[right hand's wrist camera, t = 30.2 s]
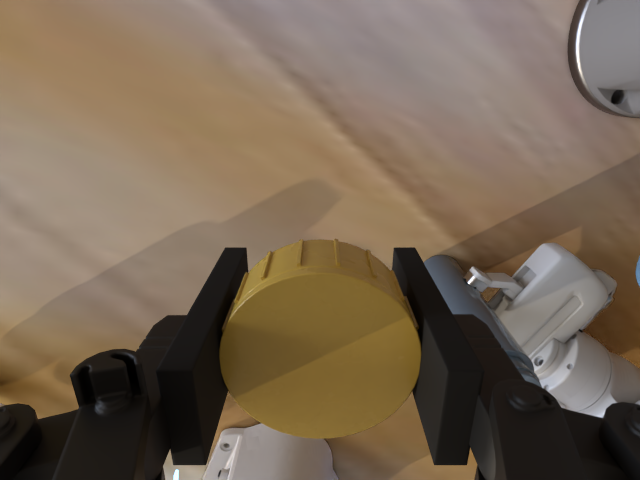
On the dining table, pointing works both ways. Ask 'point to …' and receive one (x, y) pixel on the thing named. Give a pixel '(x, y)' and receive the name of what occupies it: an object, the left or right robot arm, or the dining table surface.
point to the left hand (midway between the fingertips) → (449, 297)
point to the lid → (320, 341)
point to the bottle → (476, 309)
